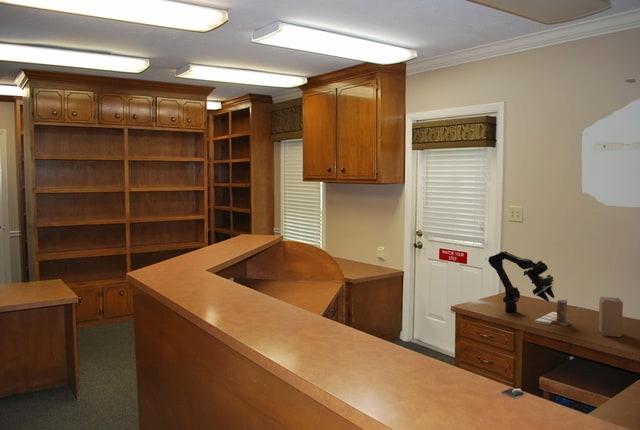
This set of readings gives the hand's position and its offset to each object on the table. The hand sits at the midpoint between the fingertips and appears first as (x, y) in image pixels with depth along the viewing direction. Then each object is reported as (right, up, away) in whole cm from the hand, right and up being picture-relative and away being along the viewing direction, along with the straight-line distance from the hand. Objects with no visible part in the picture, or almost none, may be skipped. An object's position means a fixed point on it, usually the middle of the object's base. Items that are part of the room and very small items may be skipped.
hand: (551, 299), depth 315 cm
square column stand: (+4, -13, -6) cm, 15 cm away
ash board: (+1, -13, +4) cm, 13 cm away
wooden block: (+21, -15, -26) cm, 37 cm away
